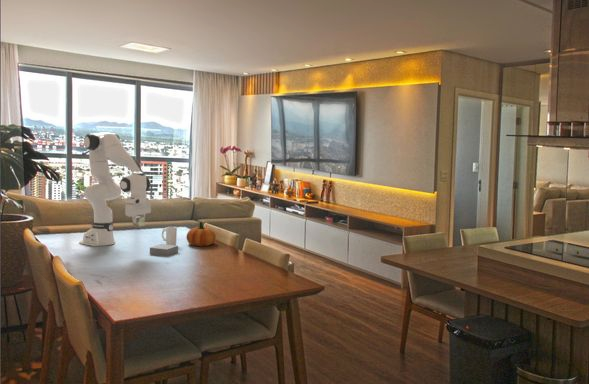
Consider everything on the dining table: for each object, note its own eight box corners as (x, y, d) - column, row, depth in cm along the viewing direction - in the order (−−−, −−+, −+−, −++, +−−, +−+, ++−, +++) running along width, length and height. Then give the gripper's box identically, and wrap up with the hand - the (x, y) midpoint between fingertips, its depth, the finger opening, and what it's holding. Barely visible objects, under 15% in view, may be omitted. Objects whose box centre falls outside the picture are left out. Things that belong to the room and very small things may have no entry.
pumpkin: (206, 248, 321) (206, 225, 319) (180, 245, 327) (180, 223, 326) (221, 243, 339) (221, 221, 337) (196, 240, 345) (196, 219, 344)
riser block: (149, 254, 300) (149, 247, 300) (161, 250, 311) (161, 243, 311) (167, 256, 296) (167, 249, 296) (178, 252, 308) (178, 245, 307)
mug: (178, 245, 329) (178, 226, 328) (173, 246, 323) (173, 228, 321) (164, 243, 331) (164, 225, 330) (159, 245, 325) (159, 227, 324)
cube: (132, 226, 296) (132, 217, 296) (137, 224, 301) (137, 216, 300) (139, 226, 294) (139, 218, 294) (144, 225, 299) (144, 217, 299)
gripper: (144, 197, 307) (144, 219, 308) (123, 200, 288) (123, 224, 289) (153, 198, 305) (153, 220, 306) (132, 201, 286) (132, 225, 287)
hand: (138, 222), depth 297 cm, fingers closed on cube, 5 cm apart
